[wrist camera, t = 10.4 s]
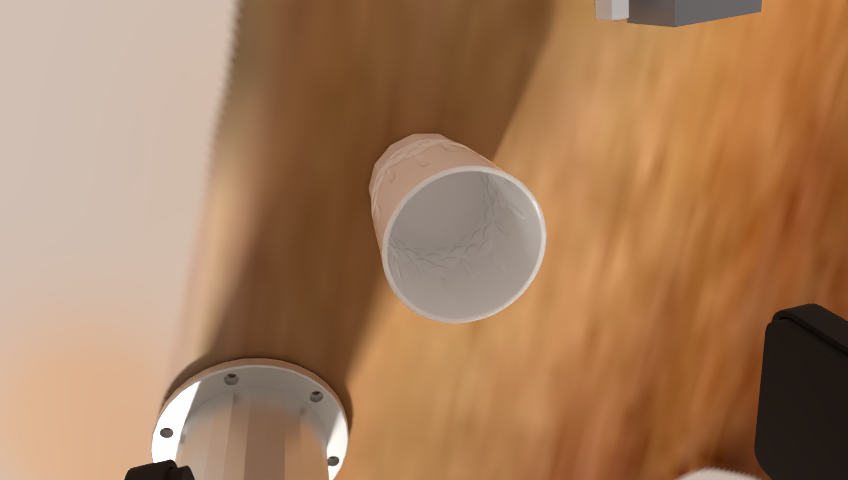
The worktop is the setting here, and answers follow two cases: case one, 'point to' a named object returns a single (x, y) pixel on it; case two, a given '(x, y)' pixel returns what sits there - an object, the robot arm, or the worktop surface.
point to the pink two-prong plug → (611, 9)
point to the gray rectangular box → (687, 11)
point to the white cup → (453, 229)
